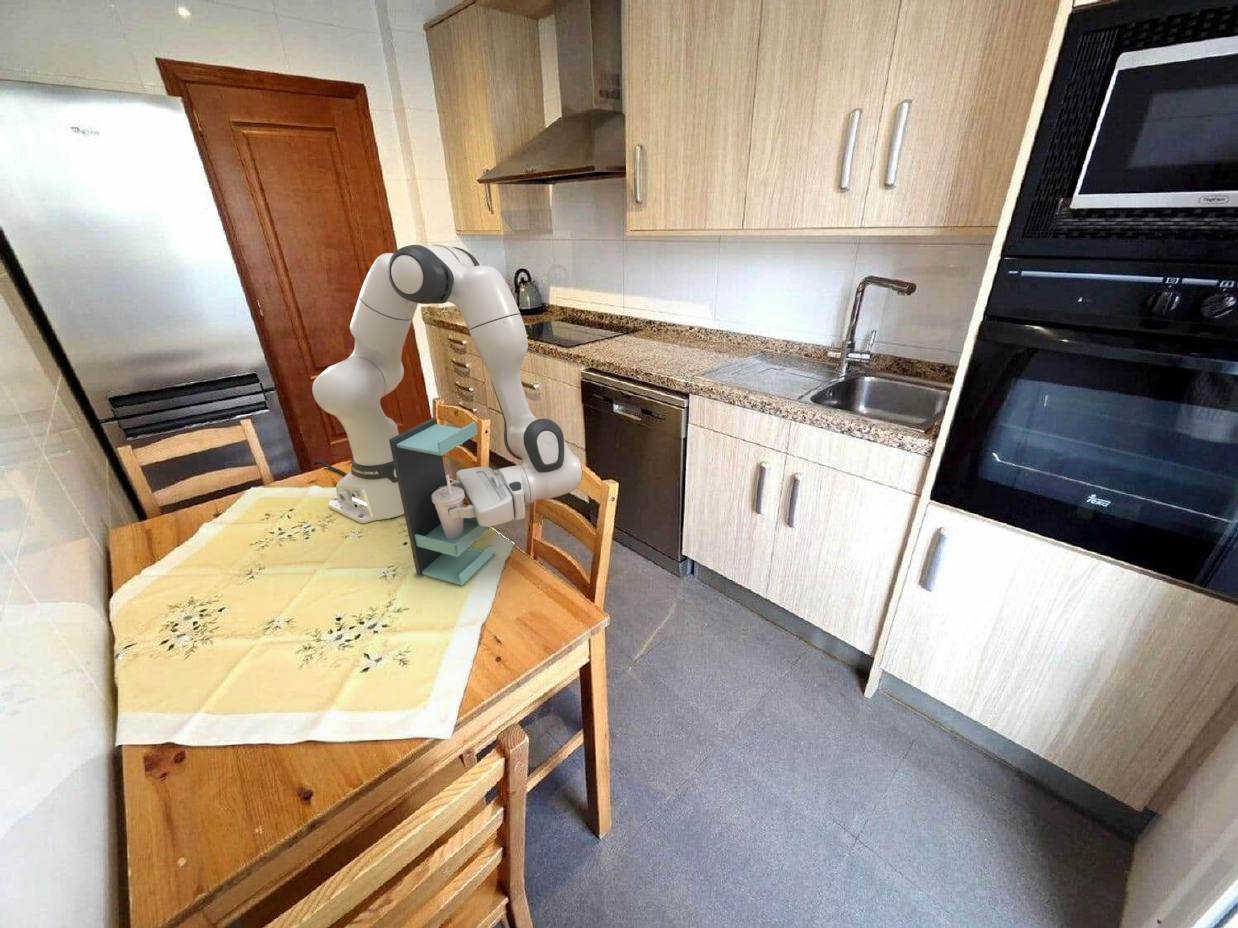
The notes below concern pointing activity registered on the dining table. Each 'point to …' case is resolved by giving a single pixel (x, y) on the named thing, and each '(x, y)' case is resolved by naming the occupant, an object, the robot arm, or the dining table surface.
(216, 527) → the dining table surface
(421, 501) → the rack
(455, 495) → the smoothie
